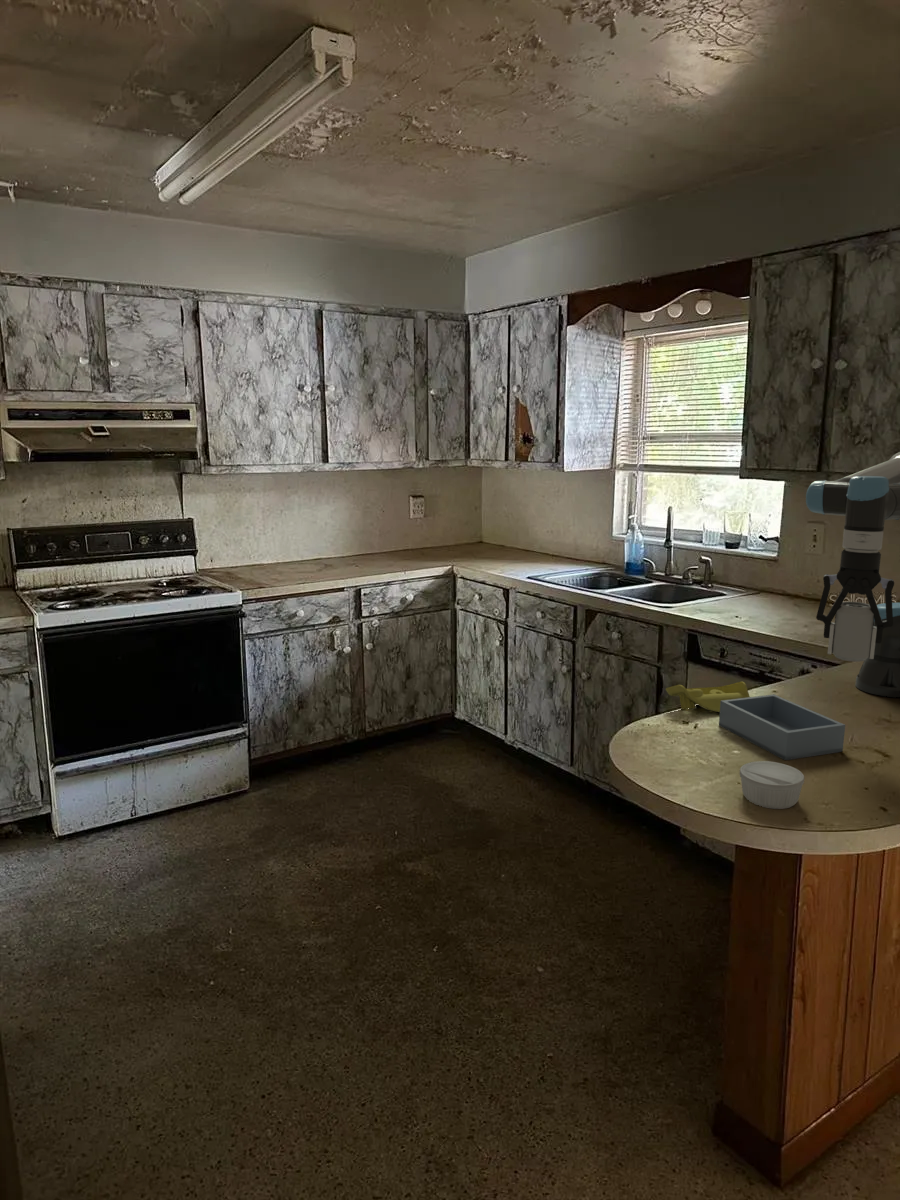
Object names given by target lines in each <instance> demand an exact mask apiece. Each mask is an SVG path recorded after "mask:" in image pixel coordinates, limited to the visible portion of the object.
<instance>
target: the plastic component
mask: <svg viewBox="0 0 900 1200" xmlns="http://www.w3.org/2000/svg"><path fill="white" fill-rule="evenodd" d="M665 691H666V693H667V694H668V695H669V696H672V697H679V703H680V707H681V710H682V711H683V710H692V709H697V708H696V707H697V706H696V705H698V706H699V707H701V708H704V709H705V710H708V711H711V712H715V713H720V702H721V701H722V700H731V699H739V698H747V697H751V695H750V692H749V689H748V687H747V684H746V682H744V681H738V682H734V683H731V684H726V685H722V686H712V687H711V686H709V687H707V686H706V687H705V686H704V687H693V688H692V687H690V688H687V687H685V686H684V685H682V684H677V685H672V686H668V687H666V688H665ZM688 708H689V709H688Z"/></svg>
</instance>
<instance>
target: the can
mask: <svg viewBox="0 0 900 1200" xmlns="http://www.w3.org/2000/svg"><path fill="white" fill-rule="evenodd" d="M873 616H874V614H873V613H872V611H871V607H870V605H869V603H865V602H860V601H843V602H842V604H841V606H840V607H839V609H838V611H837V613H836V614H835V616H834V623H835V624H834V634H833V644H832V653H831V654H833V656H834V657H835V658H836V659H839V660H841V661H846V662H847V661H848V662H856V663H857V662H864V661H865V660H866V659H867V658H869V657H870V649H871V640H872V631H873V624H874V617H873Z"/></svg>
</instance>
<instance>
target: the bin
mask: <svg viewBox="0 0 900 1200" xmlns="http://www.w3.org/2000/svg"><path fill="white" fill-rule="evenodd" d="M718 726H719V727H721V728H722V729H724V730H727V731H729V732H730V733H732V734H734V735H736V736H738V737H739V738H742V739H744V740H745V741H748V742H749V743H751V744H753V745H755V746H757V747H759V748H761V749H763V750H764V749H765V751H767V752H768V751H769V752H768V753H770V754H773V755H774V756H776V757H777V758H780V759H781V760H784V761H790V760H797V759H803V758H808V757H815V756H822V755H823V756H824V755H827V754H828V755H829V754H836V753H840V752H841V753H842V752H843V751H844V744H845V743H844V742H845V741H844V740H845V732H846V724H845V723H842V722H839V721H838V720H836V719H835V720H834V719H832V718H831V717H828V716H827V715H823V714H821V713H819V712H816V711H814V710H811V709H809V708H807V707H804V706H802V705H800V704H797V703H796V702H793V701H791V700H789V699H785V698H784V697H781V696H779V695H776V694H773V693H772V694H767V695H764V694H763V695H759V696H758V695H757V696H750V697H747V698H739V699H731V700H722V701H721V702H720V712H719V719H718Z"/></svg>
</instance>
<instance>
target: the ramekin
mask: <svg viewBox="0 0 900 1200" xmlns="http://www.w3.org/2000/svg"><path fill="white" fill-rule="evenodd" d="M739 777H740V780H741V781H740V782H741V789H742V794H743V796H744V797H745V798H746V800H747V801H748V800H749V801H748V802H750V803H751V802H752V804H753V803H754V805H756V806H758V805H759V807H761V806H762V808H766V809H773V810H774V809H775V810H781V809H782V810H785V809H789V808H792V807H793V806H795V804H797V803H798V801H799V799H800V795H801V793H802V792H801V791H802V787H803V785H804V784H805V775H804V774H803V772H802V771H800V770H799V769H798V768H796V767H793V766H791V765H787V764H784V763H781V762H776V761H770V760H769V761H768V760H763V761H762V760H760V761H759V760H758V761H757V760H756V761H751V762H750V761H749V762H748V763H747V762H746V763H745V764H743V765H742V766H741V767H740V768H739Z"/></svg>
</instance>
